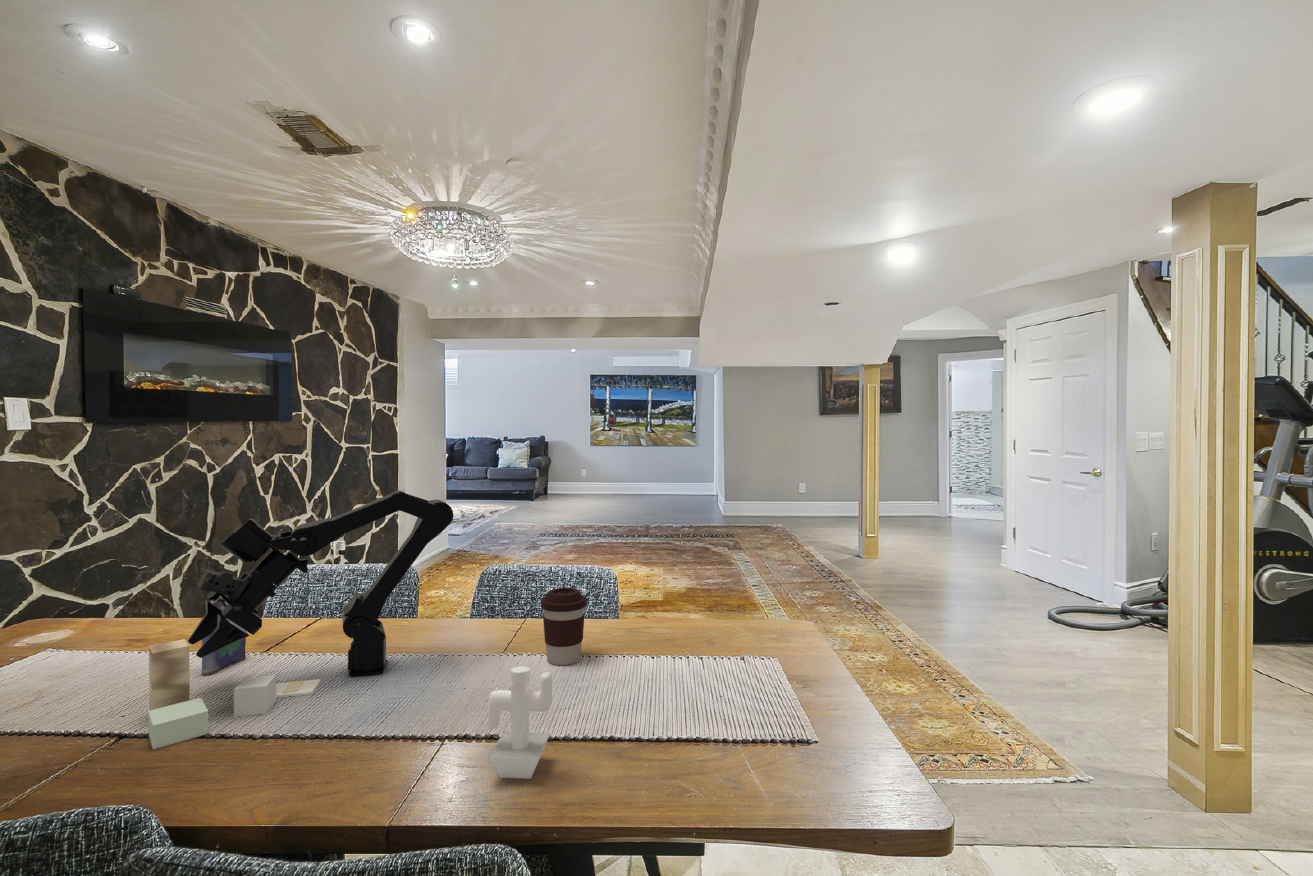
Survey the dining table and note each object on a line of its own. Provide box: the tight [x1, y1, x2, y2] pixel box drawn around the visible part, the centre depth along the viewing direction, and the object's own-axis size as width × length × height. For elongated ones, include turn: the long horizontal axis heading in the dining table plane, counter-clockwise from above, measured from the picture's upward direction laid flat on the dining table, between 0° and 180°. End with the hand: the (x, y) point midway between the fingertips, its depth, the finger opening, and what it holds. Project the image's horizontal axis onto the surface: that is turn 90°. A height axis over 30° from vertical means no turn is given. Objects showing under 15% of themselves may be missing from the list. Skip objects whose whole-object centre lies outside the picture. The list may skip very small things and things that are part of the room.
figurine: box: [487, 665, 553, 780], centre depth 88 cm, size 7×9×15 cm
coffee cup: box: [540, 587, 588, 666], centre depth 130 cm, size 10×10×15 cm
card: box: [276, 678, 322, 699], centre depth 115 cm, size 8×6×1 cm
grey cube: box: [233, 674, 277, 718], centre depth 107 cm, size 5×5×5 cm
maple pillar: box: [148, 638, 191, 711], centre depth 105 cm, size 5×5×12 cm
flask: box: [201, 634, 247, 676], centre depth 127 cm, size 10×3×12 cm, turn 172°
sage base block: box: [147, 697, 209, 750], centre depth 98 cm, size 7×7×4 cm
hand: (193, 649), depth 108 cm, fingers open, 9 cm apart
